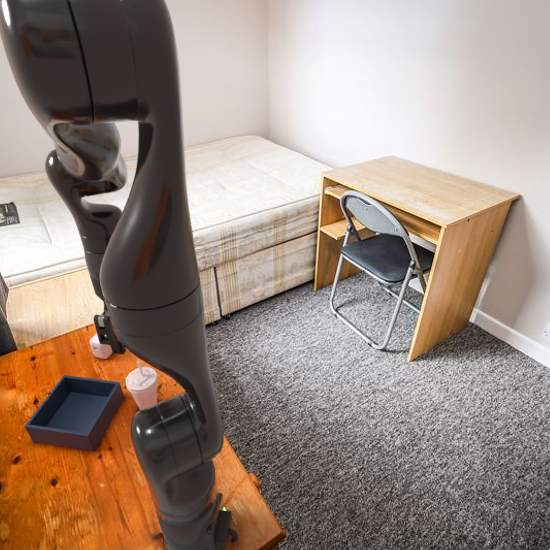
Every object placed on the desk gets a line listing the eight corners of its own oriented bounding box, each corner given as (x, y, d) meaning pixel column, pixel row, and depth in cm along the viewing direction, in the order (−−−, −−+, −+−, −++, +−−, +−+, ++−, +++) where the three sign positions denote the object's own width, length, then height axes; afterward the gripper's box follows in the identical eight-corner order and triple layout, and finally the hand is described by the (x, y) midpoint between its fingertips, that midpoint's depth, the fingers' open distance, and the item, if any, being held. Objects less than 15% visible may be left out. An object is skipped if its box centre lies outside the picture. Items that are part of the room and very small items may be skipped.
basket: (124, 397, 88) (119, 382, 85) (94, 451, 77) (87, 436, 74) (70, 390, 89) (63, 374, 86) (33, 442, 78) (24, 426, 75)
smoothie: (167, 396, 88) (158, 353, 80) (157, 421, 83) (147, 377, 75) (140, 394, 88) (129, 350, 81) (128, 418, 83) (115, 374, 75)
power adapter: (118, 328, 106) (113, 312, 103) (133, 332, 105) (129, 316, 102) (91, 357, 97) (85, 340, 94) (107, 361, 96) (102, 344, 93)
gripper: (113, 293, 59) (132, 367, 68) (150, 247, 70) (163, 315, 79) (67, 288, 59) (92, 362, 68) (112, 243, 71) (128, 311, 80)
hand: (130, 336), depth 74 cm, fingers open, 8 cm apart
